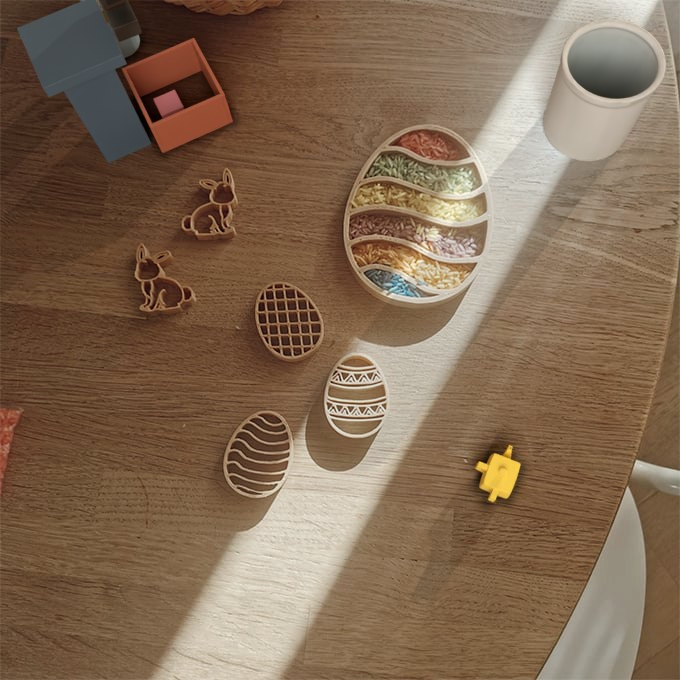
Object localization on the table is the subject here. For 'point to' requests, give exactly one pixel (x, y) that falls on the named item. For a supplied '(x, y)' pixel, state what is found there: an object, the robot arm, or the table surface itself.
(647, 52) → the utensil holder
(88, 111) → the blue t-shaped block
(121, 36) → the dark grey angular piece
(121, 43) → the bottle
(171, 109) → the pink rectangular block
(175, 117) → the bin
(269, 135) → the table surface
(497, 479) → the teapot
